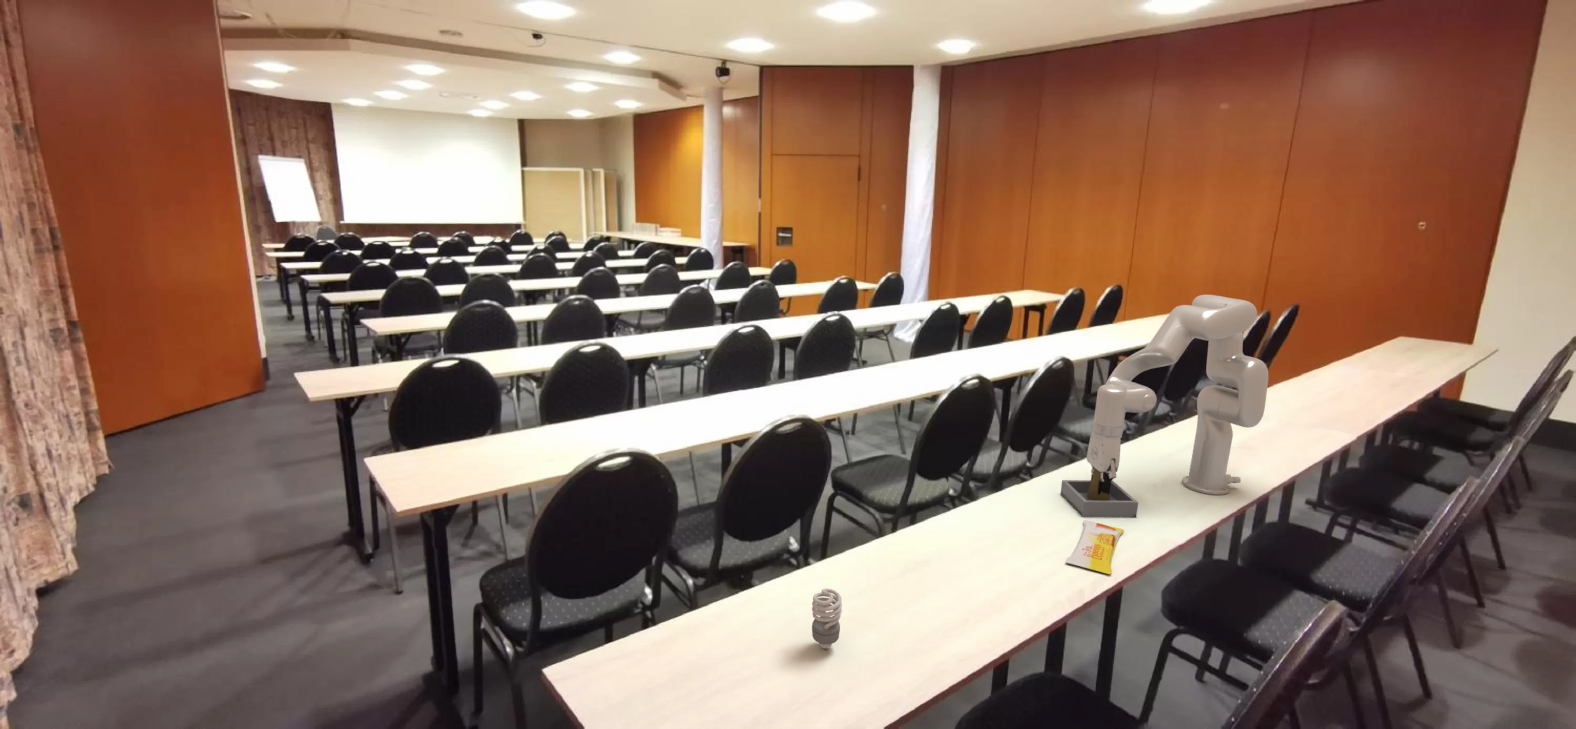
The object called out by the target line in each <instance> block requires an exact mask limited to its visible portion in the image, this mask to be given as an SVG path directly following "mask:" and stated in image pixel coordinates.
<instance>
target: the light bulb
mask: <svg viewBox="0 0 1576 729" xmlns="http://www.w3.org/2000/svg"><path fill="white" fill-rule="evenodd" d="M811 603H812V604H811V605H812V607H811V611H812V617H813V618H814V620H813V621H812V624H811V636H812V638H813V640H814V641H815V642H817V643H818V646H819V647H820V648H822V649H829V648H831V647H832V645H833V644H834V643H836V642H837V641H839V638H840V631H841V630H840V629H841V624H840V622H839V621H840V619H841V614H842V607H843V606H842V605H843V604H842V596H841V594H839V592H838V591H836V589H835V590H834V589H833V588H823V589H822V590H821V592H817V593H816V594H814V595H813V597H812V602H811Z"/></svg>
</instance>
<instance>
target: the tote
mask: <svg viewBox="0 0 1576 729" xmlns="http://www.w3.org/2000/svg"><path fill="white" fill-rule="evenodd" d="M1090 483H1091V479H1090V480H1086V479H1085V480H1082V479H1081V480H1080V479H1079V480H1078V479H1077V480H1076V479H1070V480H1069V479H1062V480H1061V486H1060V496H1061V497H1062V498H1064V500H1065V501H1066V502H1067V503H1068V504H1069V505H1070V506H1071V507H1072V508H1073V509H1074V510H1075V511H1076V512H1077V513H1078V514H1079V515H1080V516H1081V517H1082V518H1132V519H1133V518H1137V515H1138V509H1139V501H1138V500H1137V499H1135V498H1134V497H1133V496H1131V495H1130V494H1129V493H1128V492H1127V491H1126V490H1124V489H1123V488H1122V487H1121V486H1119V485H1118V484H1117V483H1116V482H1115V481H1114V480H1112V482H1111V486H1110V501H1096V500H1091V499H1089V498H1088V497H1087V494H1088V491H1089V487H1090Z"/></svg>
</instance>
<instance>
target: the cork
mask: <svg viewBox="0 0 1576 729" xmlns="http://www.w3.org/2000/svg"><path fill="white" fill-rule="evenodd" d="M1093 470H1094V473H1093V477H1092V480H1091V479H1090V480H1091V484H1090V487H1089V491H1088V494H1087V497H1088V498H1089V499H1091V500H1096V501H1110V493H1109V495H1107V493H1103V492H1102V491H1101V493H1100V495H1099V494H1098V484H1099V481H1101V472H1099V471H1098V470H1097V469H1096V468H1094V467H1093ZM1107 471H1109V469H1107ZM1108 474H1109V473H1105V476H1106V475H1108Z"/></svg>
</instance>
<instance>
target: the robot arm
mask: <svg viewBox="0 0 1576 729" xmlns="http://www.w3.org/2000/svg"><path fill="white" fill-rule="evenodd" d="M1257 317H1258V310H1257V307H1256V306H1255V305H1254V304H1253V303H1252V302H1250V301H1247V300H1244V299H1239V298H1232V297H1226V296H1221V295H1215V294H1200V295H1197V296H1196V297H1195V298H1194V299H1193V300H1192V302H1191V305H1189V304H1181V305H1177V306H1176V307H1174V308H1173V309H1172V310H1171V311H1170V313H1169V314H1168V316H1167V317H1166V319H1165V320H1164V322H1163V323H1161V326H1159V327H1160V328H1159V329H1158V331H1156V333H1155V335H1154V336H1153V337H1152V338H1151V341H1150V342H1149V343H1148V345H1147V346H1146V347H1144V348H1142V349H1140V350H1138V351H1136V352H1134V353H1133V354H1131V355H1129V356H1128V357H1126V358H1125V359H1124V360H1122V361H1121V362H1120V363H1118V365H1117V366H1116V367H1115V368H1114V370H1113V371H1112V373H1111V374H1110V375H1109V377H1108V379H1107V381H1106V382H1105V384H1102V385H1100V386H1099V387H1098V388H1097V394H1096V395H1097V396H1096V401H1095V402H1096V403H1095V411H1094V419H1093V426H1092V427H1093V428H1092V432H1091V434H1090V438H1089V442H1088V448H1087V452H1086V453H1087V454H1086V461H1087V463H1088V464H1090V466H1091V469H1090V472H1091V475H1090V476H1091V477H1090V480H1092V477H1093V473H1094V470H1093V467H1094V468H1096V469H1097V470H1098V471H1099V472H1101V481H1099V484H1098V494H1099V495H1100V493H1101V491H1102V492H1103V493H1107V495H1109V493H1110V486H1111V482H1112V481H1114V479H1116V478H1117V472H1118V470H1119V468H1120V467H1119V466H1120V460H1121V457H1120V456H1121V439H1122V438H1123V431H1124V423H1125V416H1126V413H1136V414H1141V413H1143V414H1144V413H1147V412H1149V411H1151V410H1152V409H1153V408H1155V406H1156V404H1157V399H1158V398H1157V395H1156V393H1155V391H1154V390H1153V389H1151V388H1149V387H1148V386H1145V385H1143V384H1140V383H1137V382H1133V381H1132V380H1134V378H1136V377H1137V376H1138V375H1139V374H1141V373H1143V372H1145V371H1149V370H1151V369H1156V368H1161V367H1166V366H1172V365H1174V364H1176V363H1177V362H1178V361H1179V360H1180V358H1181V356H1182V355H1183V354H1184V352H1185V350H1186V349H1187V347H1188V346H1189V345H1190V343H1192V341H1193V339H1199V340H1203V341H1208V346H1207V357H1206V371H1205V372H1206V375H1207V377H1208V379H1209V380H1211V381H1213V382H1215V383H1218V384H1222V385H1208V386H1206V387H1204V388H1203V389H1201V390H1200V392H1199V393H1198V395H1197V400H1196V401H1197V402H1196V408H1197V410H1196V411H1197V421H1196V422H1197V423H1196V430H1195V436H1194V443H1193V447H1192V448H1193V449H1192V453H1191V461H1190V465H1189V471H1188V475H1185V476H1183V477H1182V478H1181V483H1182V485H1183V486H1185V487H1186V488H1188V489H1189V490H1193V491H1194V492H1198V493H1200V494H1201V493H1203V494H1206V495H1215V496H1217V495H1219V496H1220V495H1221V496H1222V495H1225V494H1228V493H1229V492H1230V486H1229V485H1230V484H1232V483H1233V484H1240V483H1241V481H1242V479H1241V477H1240V476H1232V475H1231V474H1227V469H1228V464H1229V460H1230V459H1229V458H1230V454H1231V448H1232V442H1233V438H1234V435H1233V434H1234V433H1233V432H1234V431H1233V427H1232V425H1235V426H1239V427H1243V428H1249V429H1250V428H1253V427H1256V426H1257V425H1259V423H1260V422H1261V421H1262V418H1263V417H1264V413H1265V408H1266V403H1267V402H1266V401H1267V393H1268V386H1269V369H1268V367H1267V365H1266V363H1265V362H1264V361H1263V360H1261V359H1259V358H1256V357H1252V356H1248V355H1245V354H1244V352H1243V345H1244V344H1243V343H1244V342H1243V341H1244V335H1243V334H1244V333H1243V332H1245V331H1247V330H1249V329H1250V328H1251V327H1252V326H1253V325H1254V323H1256V320H1257ZM1223 385H1224V386H1223ZM1225 386H1229V387H1225ZM1230 387H1232V388H1230ZM1233 388H1235V389H1233ZM1236 389H1237V390H1236ZM1107 469H1109V471H1107ZM1105 473H1109V474H1108V475H1106V476H1105ZM1090 484H1091V483H1090Z"/></svg>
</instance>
